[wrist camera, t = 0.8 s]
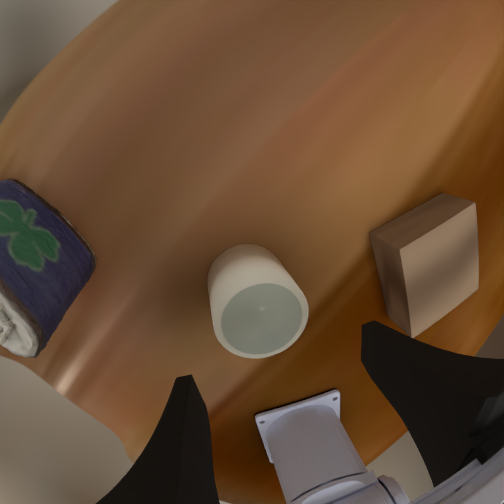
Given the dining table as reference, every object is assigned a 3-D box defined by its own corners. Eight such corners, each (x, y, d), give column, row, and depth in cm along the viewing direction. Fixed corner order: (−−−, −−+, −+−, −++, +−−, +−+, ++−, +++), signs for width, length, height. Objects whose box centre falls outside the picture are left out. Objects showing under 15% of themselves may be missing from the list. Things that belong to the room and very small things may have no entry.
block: (449, 271, 24) (478, 288, 20) (385, 314, 24) (411, 338, 20) (440, 192, 21) (475, 202, 17) (367, 232, 21) (399, 249, 17)
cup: (287, 302, 21) (313, 345, 16) (217, 320, 21) (226, 369, 16) (276, 235, 19) (303, 265, 15) (198, 254, 19) (201, 291, 14)
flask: (-6, 199, 15) (-114, 249, 5) (12, 164, 14) (-105, 193, 4) (84, 285, 18) (19, 398, 8) (107, 254, 18) (40, 360, 8)
